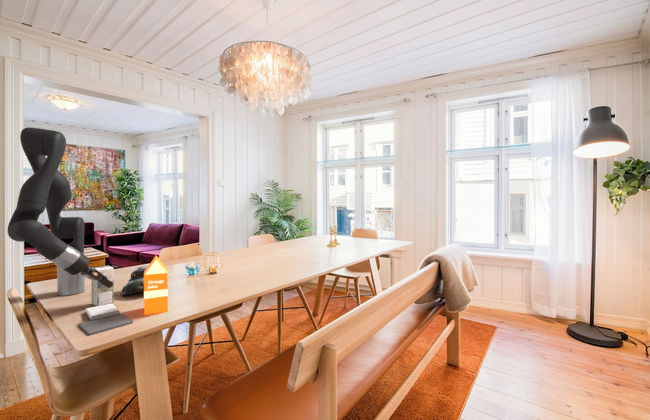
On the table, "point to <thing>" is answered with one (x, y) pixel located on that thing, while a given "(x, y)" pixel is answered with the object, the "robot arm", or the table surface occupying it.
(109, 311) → the external hard drive
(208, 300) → the table surface
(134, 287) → the lucky cat figurine
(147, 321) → the table surface
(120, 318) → the charcoal mat
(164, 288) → the orange juice
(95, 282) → the syrup box
